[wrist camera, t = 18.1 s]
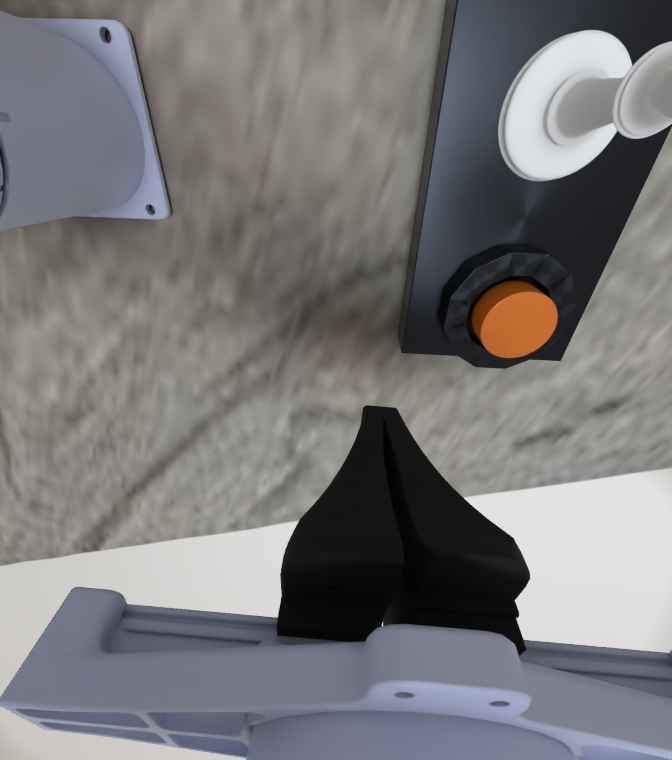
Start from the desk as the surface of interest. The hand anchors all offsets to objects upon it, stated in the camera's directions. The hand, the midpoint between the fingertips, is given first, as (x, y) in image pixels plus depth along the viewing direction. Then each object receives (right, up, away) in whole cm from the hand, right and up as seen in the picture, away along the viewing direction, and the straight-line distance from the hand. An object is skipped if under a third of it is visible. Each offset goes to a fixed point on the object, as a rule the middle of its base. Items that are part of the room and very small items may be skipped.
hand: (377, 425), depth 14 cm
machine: (+8, +11, +4) cm, 14 cm away
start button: (+7, +6, +4) cm, 10 cm away
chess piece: (+8, +13, 0) cm, 16 cm away
